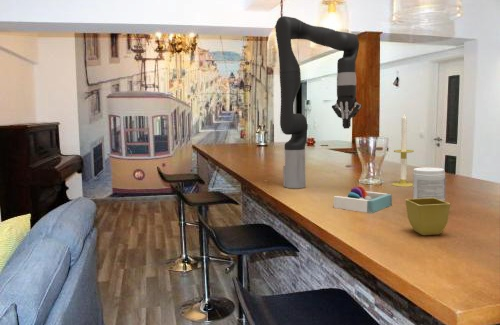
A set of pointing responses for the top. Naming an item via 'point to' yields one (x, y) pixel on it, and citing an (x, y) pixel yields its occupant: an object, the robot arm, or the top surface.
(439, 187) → the supplement tub
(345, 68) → the robot arm
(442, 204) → the flower pot
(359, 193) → the multicoloured petal flower toy
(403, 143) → the candle
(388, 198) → the bay
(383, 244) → the top surface
